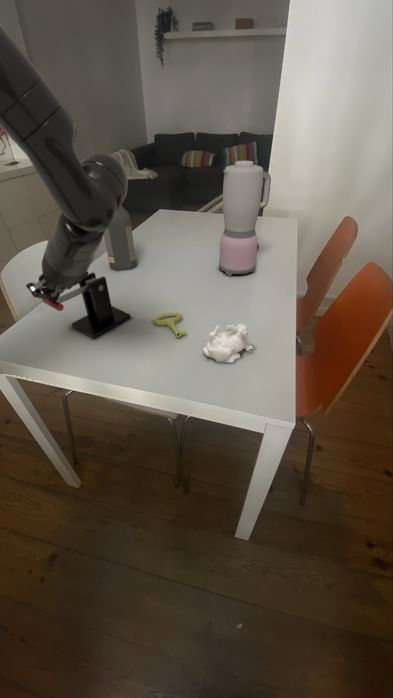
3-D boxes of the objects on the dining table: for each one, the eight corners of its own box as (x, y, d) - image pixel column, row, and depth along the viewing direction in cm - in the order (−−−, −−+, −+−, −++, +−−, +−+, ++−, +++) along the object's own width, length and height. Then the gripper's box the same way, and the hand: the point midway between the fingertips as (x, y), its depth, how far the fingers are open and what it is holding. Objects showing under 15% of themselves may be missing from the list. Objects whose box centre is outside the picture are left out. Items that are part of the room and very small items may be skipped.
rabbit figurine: (252, 346, 75) (256, 310, 69) (259, 367, 69) (265, 330, 63) (201, 348, 74) (201, 313, 68) (204, 370, 68) (204, 333, 62)
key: (178, 342, 76) (177, 334, 75) (150, 321, 84) (149, 314, 83) (201, 331, 80) (201, 324, 79) (172, 312, 88) (172, 305, 86)
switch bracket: (94, 339, 78) (81, 292, 70) (72, 327, 82) (58, 282, 74) (130, 318, 85) (123, 273, 77) (109, 308, 90) (99, 265, 82)
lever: (58, 313, 69) (55, 304, 68) (43, 305, 72) (40, 296, 71) (106, 290, 77) (104, 281, 76) (91, 283, 80) (89, 274, 79)
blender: (228, 280, 102) (234, 167, 83) (212, 266, 111) (214, 160, 91) (270, 271, 107) (285, 162, 87) (251, 258, 116) (261, 157, 96)
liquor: (135, 259, 117) (122, 166, 99) (137, 269, 110) (123, 171, 92) (110, 261, 116) (92, 168, 97) (110, 272, 109) (91, 173, 90)
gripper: (87, 228, 60) (66, 273, 73) (19, 250, 52) (11, 295, 65) (110, 262, 60) (86, 299, 74) (48, 288, 52) (33, 325, 66)
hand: (51, 297), depth 70 cm, fingers closed
